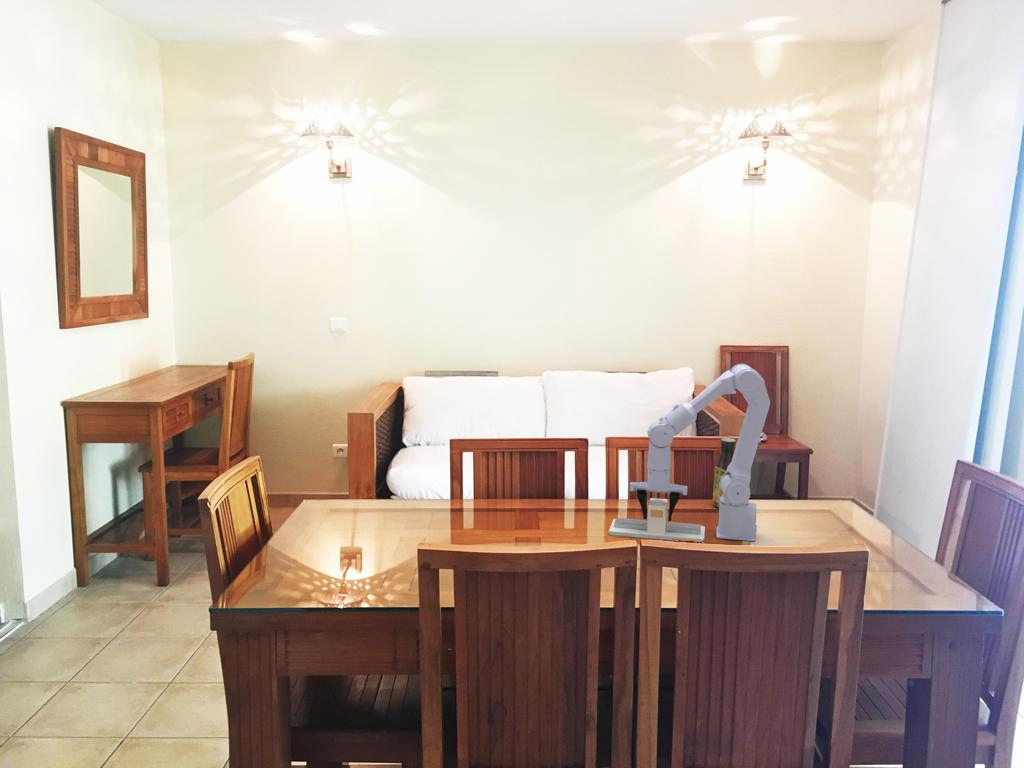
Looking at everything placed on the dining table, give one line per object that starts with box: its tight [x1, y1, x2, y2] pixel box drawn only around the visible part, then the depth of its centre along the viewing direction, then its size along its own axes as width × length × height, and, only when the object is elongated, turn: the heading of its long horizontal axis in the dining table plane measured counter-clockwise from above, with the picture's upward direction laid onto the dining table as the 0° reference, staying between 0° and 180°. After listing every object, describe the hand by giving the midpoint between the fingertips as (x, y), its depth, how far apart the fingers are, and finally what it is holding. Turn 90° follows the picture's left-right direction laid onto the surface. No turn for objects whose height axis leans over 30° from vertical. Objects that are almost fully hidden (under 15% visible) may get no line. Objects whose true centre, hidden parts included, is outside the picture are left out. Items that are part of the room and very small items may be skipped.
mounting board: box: [608, 518, 706, 544], centre depth 207 cm, size 24×10×1 cm, turn 75°
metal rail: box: [614, 517, 702, 535], centre depth 207 cm, size 22×4×2 cm, turn 75°
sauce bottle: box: [712, 437, 737, 508], centre depth 227 cm, size 7×6×20 cm
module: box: [647, 497, 669, 534], centre depth 207 cm, size 4×7×7 cm, turn 165°
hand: (657, 519), depth 207 cm, fingers open, 6 cm apart
